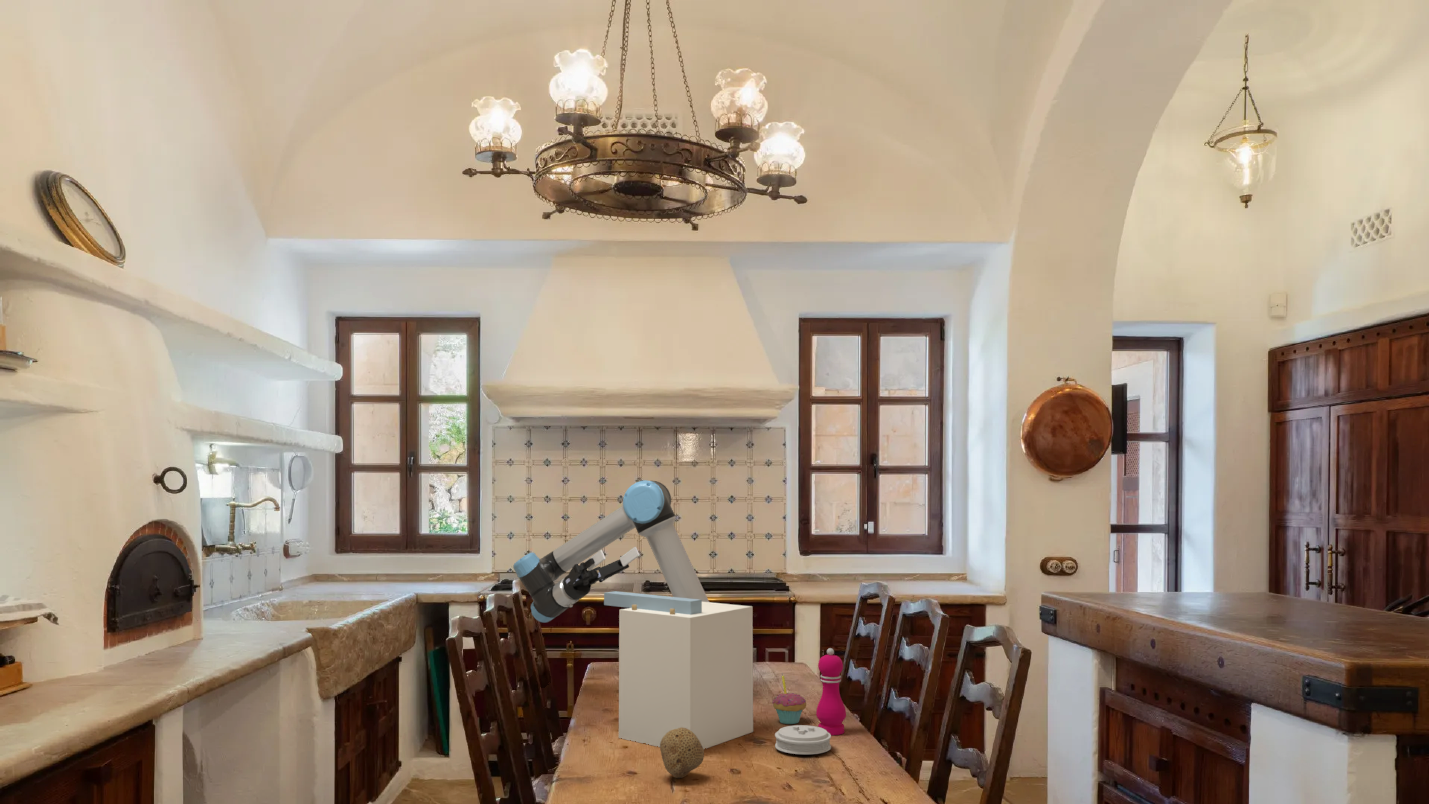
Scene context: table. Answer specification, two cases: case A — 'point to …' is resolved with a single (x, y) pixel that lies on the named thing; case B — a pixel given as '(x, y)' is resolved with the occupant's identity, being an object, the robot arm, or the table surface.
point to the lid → (802, 739)
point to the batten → (653, 602)
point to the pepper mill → (831, 695)
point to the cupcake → (789, 706)
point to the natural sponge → (681, 752)
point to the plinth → (686, 673)
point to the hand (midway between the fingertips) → (620, 552)
